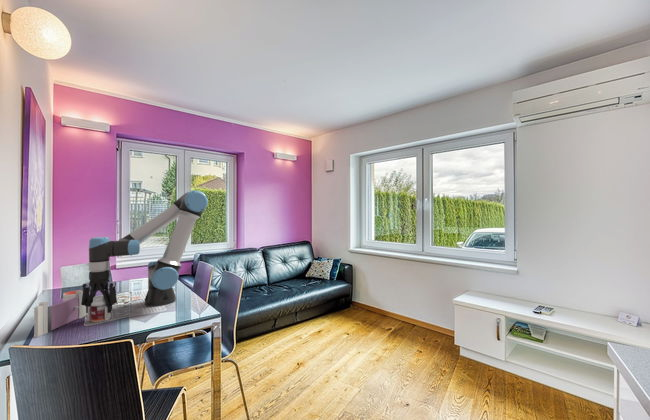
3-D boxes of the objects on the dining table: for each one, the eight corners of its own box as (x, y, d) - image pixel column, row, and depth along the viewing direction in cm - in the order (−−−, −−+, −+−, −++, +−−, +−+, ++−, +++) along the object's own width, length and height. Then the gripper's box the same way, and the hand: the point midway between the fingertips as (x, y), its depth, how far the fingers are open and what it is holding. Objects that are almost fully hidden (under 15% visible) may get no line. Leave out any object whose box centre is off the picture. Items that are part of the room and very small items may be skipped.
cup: (73, 315, 138) (73, 295, 138) (57, 314, 140) (57, 294, 140) (94, 309, 148) (94, 289, 148) (78, 308, 150) (78, 289, 150)
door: (81, 318, 133) (81, 297, 134) (52, 331, 119) (52, 307, 119) (75, 318, 133) (75, 297, 133) (45, 331, 118) (45, 307, 119)
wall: (87, 315, 139) (87, 288, 139) (38, 337, 114) (38, 304, 114) (84, 315, 139) (84, 288, 139) (33, 337, 114) (33, 304, 114)
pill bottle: (89, 320, 131) (89, 296, 132) (106, 316, 136) (106, 293, 136) (92, 323, 127) (92, 299, 128) (109, 319, 132) (109, 296, 132)
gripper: (126, 268, 136) (126, 316, 136) (83, 269, 135) (83, 317, 135) (115, 271, 129) (115, 322, 128) (70, 272, 128) (70, 323, 128)
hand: (99, 319), depth 132 cm, fingers open, 7 cm apart
